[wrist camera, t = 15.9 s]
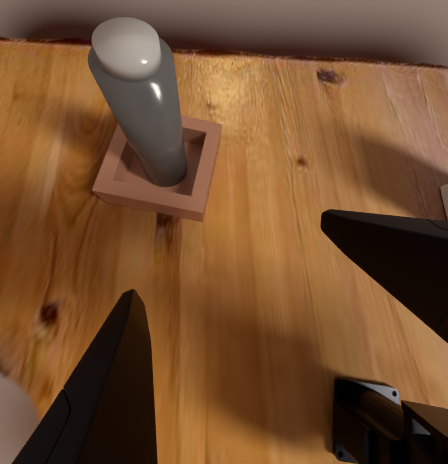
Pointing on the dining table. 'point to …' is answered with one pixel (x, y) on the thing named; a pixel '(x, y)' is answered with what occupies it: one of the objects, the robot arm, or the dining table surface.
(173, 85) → the pepper mill
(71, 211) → the dining table surface
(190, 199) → the terracotta holder
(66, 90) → the dining table surface
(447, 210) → the milk carton
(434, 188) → the dining table surface
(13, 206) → the dining table surface
